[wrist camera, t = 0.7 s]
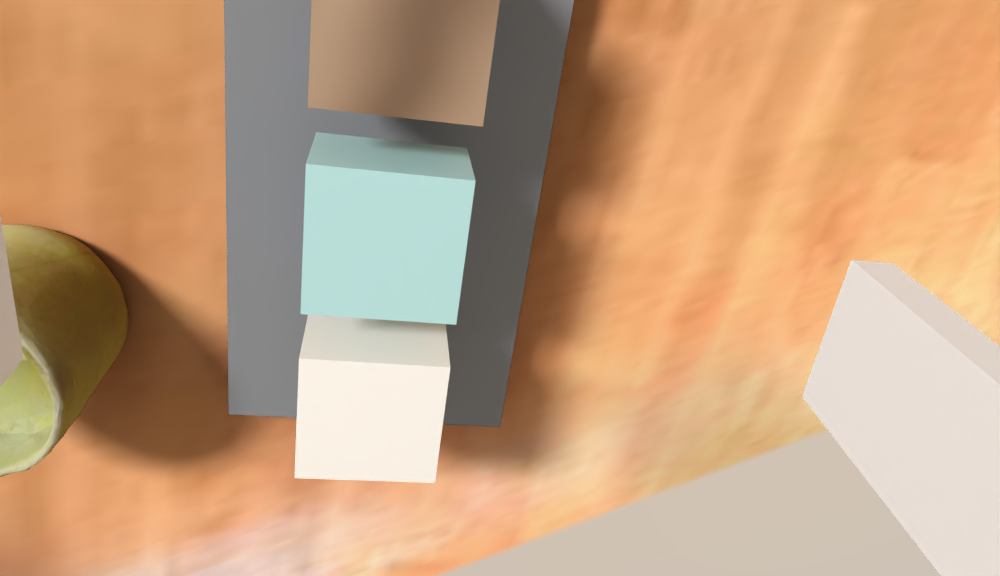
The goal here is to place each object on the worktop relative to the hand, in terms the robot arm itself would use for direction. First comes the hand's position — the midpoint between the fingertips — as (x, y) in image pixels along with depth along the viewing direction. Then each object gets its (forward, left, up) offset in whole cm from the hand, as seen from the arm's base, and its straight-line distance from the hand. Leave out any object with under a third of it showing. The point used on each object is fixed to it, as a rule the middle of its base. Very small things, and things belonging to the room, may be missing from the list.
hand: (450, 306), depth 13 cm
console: (-1, -6, -25) cm, 26 cm away
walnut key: (-1, +2, -20) cm, 20 cm away
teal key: (-1, -6, -20) cm, 21 cm away
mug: (-19, -14, -25) cm, 35 cm away
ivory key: (-1, -14, -20) cm, 25 cm away
